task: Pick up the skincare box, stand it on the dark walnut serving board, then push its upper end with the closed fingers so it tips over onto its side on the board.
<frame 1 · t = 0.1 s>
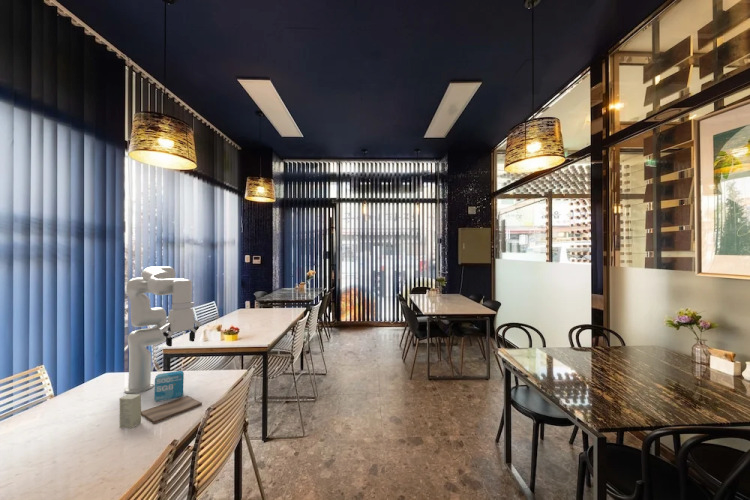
hand: (180, 343, 140), 31 cm above the table, tool pointing down, fingers open, 9 cm apart
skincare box: (129, 425, 128), on the table
data package: (169, 398, 153), on the table
serving board: (172, 409, 141), on the table
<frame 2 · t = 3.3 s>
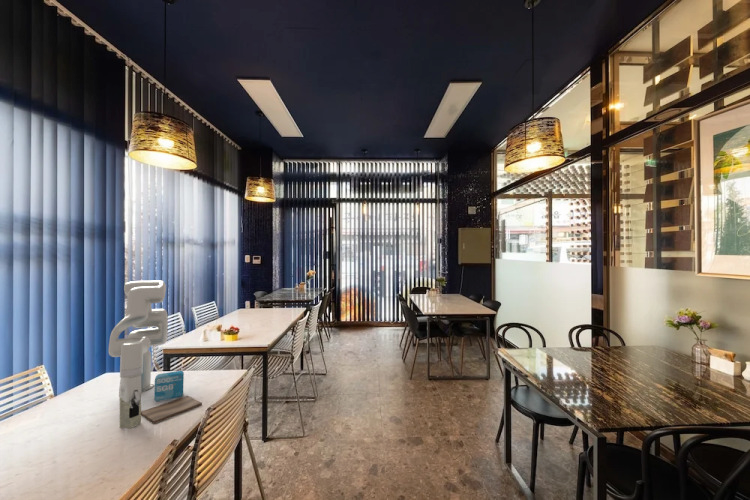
hand: (130, 413, 128), 5 cm above the table, tool pointing down, fingers closed on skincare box, 7 cm apart
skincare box: (129, 425, 128), on the table, touching gripper
everything else where it was.
when the fingers open (7 cm above the table, at t = 9.7 s): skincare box drops 1 cm, resting on serving board.
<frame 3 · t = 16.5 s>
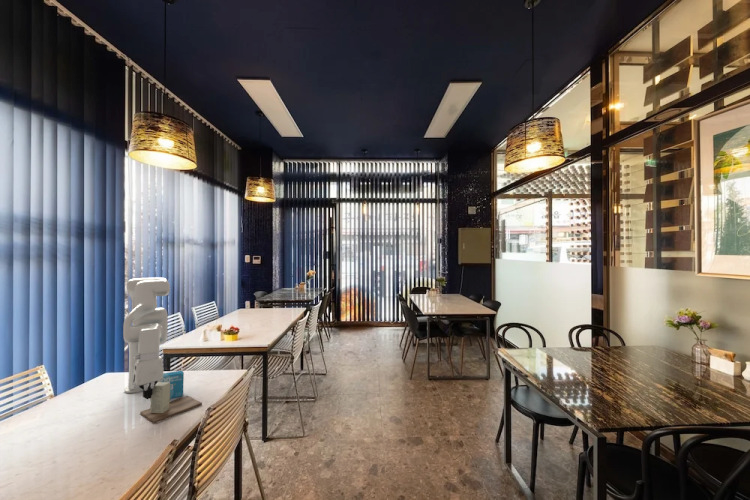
hand: (147, 397, 133), 9 cm above the table, tool pointing down, fingers closed
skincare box: (159, 411, 137), point 1 cm above the table, touching gripper, serving board
everything else where it was.
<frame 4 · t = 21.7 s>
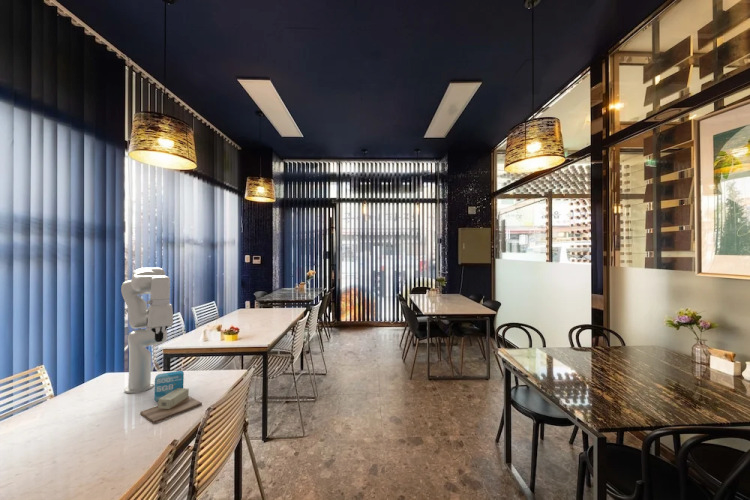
hand: (158, 341, 144), 31 cm above the table, tool pointing down, fingers closed
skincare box: (163, 404, 139), point 3 cm above the table, touching serving board
everything else where it was.
at the end: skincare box tilted 91°; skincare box touching serving board; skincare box 3.4 cm from the serving board (horizontally) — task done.
